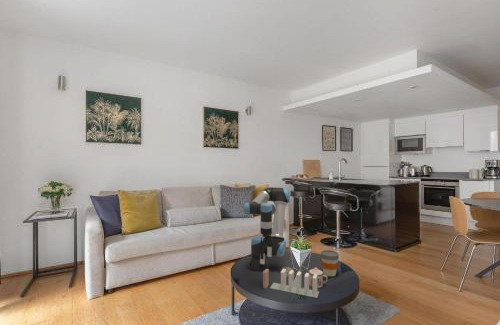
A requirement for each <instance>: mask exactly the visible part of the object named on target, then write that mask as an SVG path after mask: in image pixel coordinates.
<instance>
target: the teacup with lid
mask: <svg viewBox="0 0 500 325" xmlns="http://www.w3.org/2000/svg"><path fill="white" fill-rule="evenodd" d="M308 273H309V287H311V288H313V276H314V274H316V275H317V289H318V288H323V286H324V285H323V284H325V283H327V281H328V276H326V275H324V274H323V270H320V269H318V267H314V268H312V269H309V271H308ZM323 277H325V278H326V279H325V280H323V279H324V278H323Z"/></svg>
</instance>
